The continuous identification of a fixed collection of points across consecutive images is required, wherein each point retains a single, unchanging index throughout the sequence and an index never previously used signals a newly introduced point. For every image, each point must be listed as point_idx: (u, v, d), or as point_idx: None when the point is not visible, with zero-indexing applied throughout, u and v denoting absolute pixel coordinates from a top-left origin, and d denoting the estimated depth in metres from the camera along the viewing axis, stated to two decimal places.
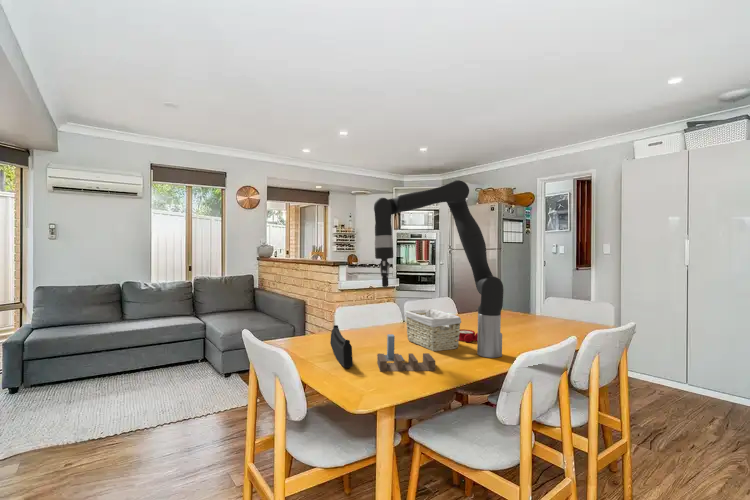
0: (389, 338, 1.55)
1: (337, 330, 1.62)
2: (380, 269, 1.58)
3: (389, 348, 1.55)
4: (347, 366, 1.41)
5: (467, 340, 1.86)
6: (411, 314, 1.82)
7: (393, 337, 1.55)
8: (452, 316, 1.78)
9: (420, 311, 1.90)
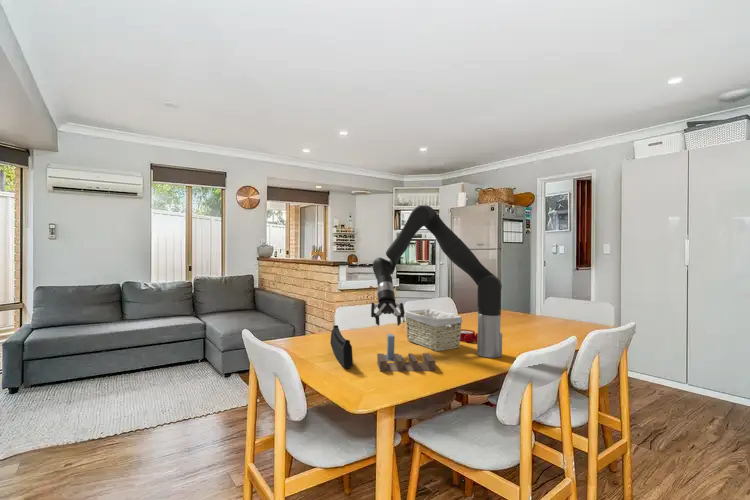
0: (389, 338, 1.55)
1: (337, 330, 1.62)
2: None
3: (389, 348, 1.55)
4: (347, 366, 1.41)
5: (467, 340, 1.86)
6: (412, 314, 1.81)
7: (393, 337, 1.55)
8: (453, 316, 1.79)
9: (419, 311, 1.90)
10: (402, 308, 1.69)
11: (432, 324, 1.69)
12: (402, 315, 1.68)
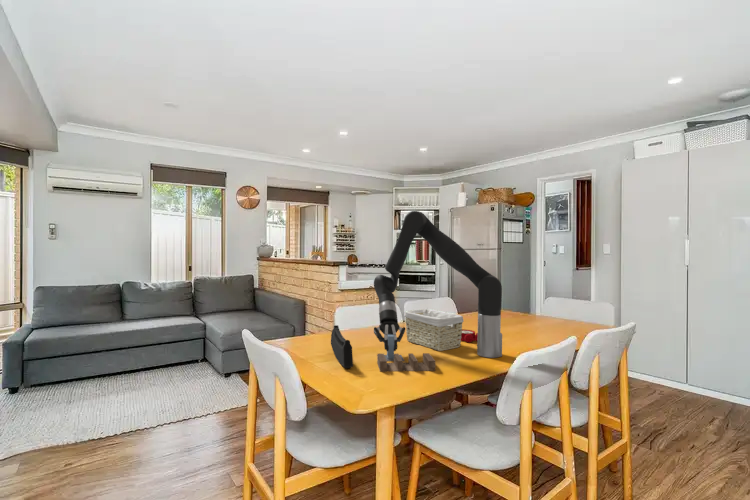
0: (389, 338, 1.55)
1: (337, 330, 1.62)
2: None
3: (389, 348, 1.55)
4: (347, 366, 1.41)
5: (467, 340, 1.86)
6: (412, 314, 1.81)
7: (393, 337, 1.55)
8: (453, 315, 1.80)
9: (418, 311, 1.90)
10: (402, 332, 1.59)
11: (435, 324, 1.69)
12: None
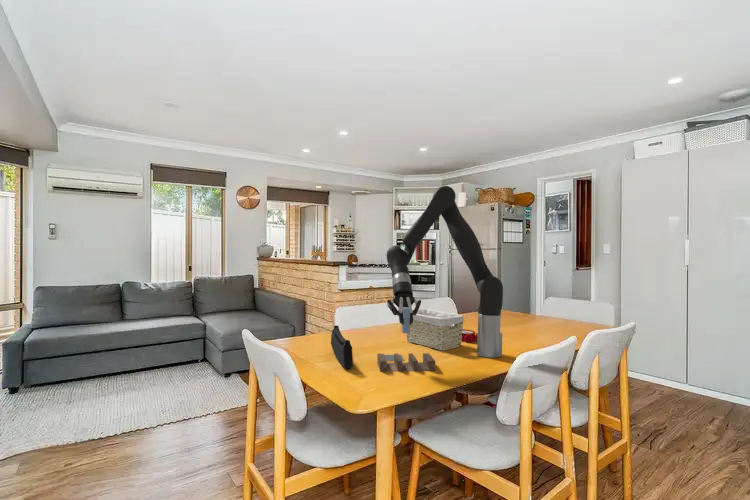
0: (404, 311, 1.44)
1: (337, 330, 1.62)
2: None
3: (404, 321, 1.44)
4: (347, 366, 1.41)
5: (467, 340, 1.86)
6: (413, 315, 1.80)
7: (408, 309, 1.44)
8: (453, 315, 1.81)
9: None
10: (417, 305, 1.48)
11: (438, 324, 1.70)
12: None
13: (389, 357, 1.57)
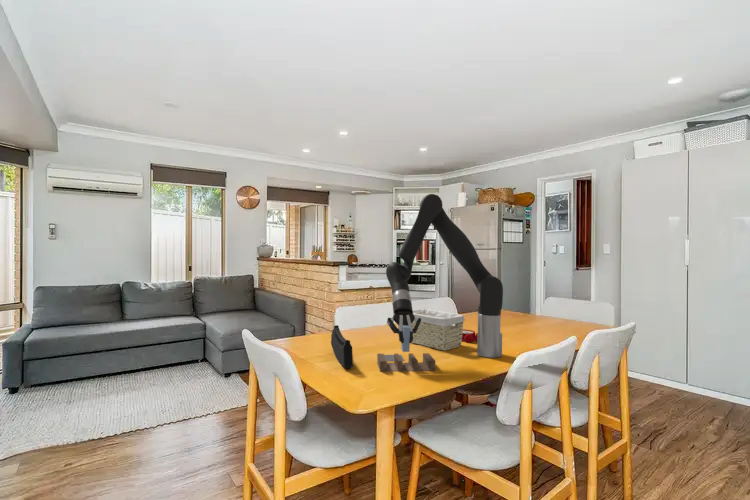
0: (404, 329, 1.43)
1: (338, 330, 1.62)
2: (398, 327, 1.49)
3: (404, 340, 1.43)
4: (347, 366, 1.40)
5: (467, 340, 1.86)
6: (414, 315, 1.80)
7: (408, 328, 1.43)
8: (453, 315, 1.82)
9: (417, 311, 1.89)
10: (417, 323, 1.48)
11: (440, 324, 1.70)
12: None
13: (389, 357, 1.57)
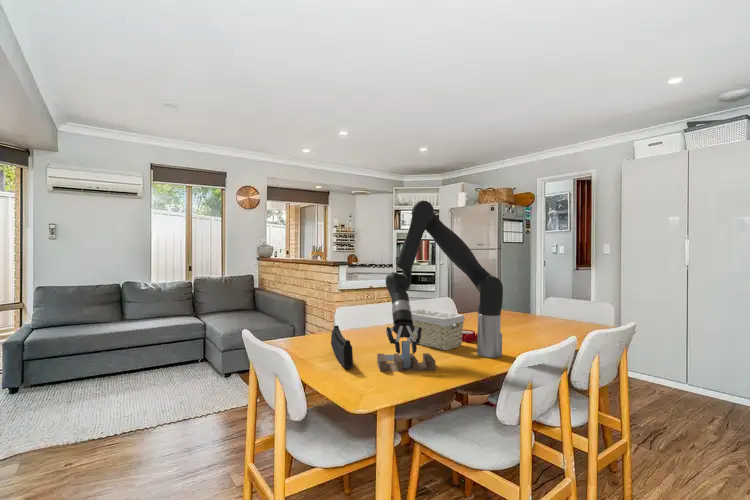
0: (404, 345, 1.44)
1: (338, 330, 1.62)
2: None
3: (404, 356, 1.44)
4: (347, 366, 1.40)
5: (467, 340, 1.86)
6: (414, 315, 1.80)
7: (408, 344, 1.44)
8: (453, 314, 1.83)
9: (417, 311, 1.89)
10: (419, 333, 1.48)
11: (441, 324, 1.70)
12: None
13: (389, 357, 1.57)
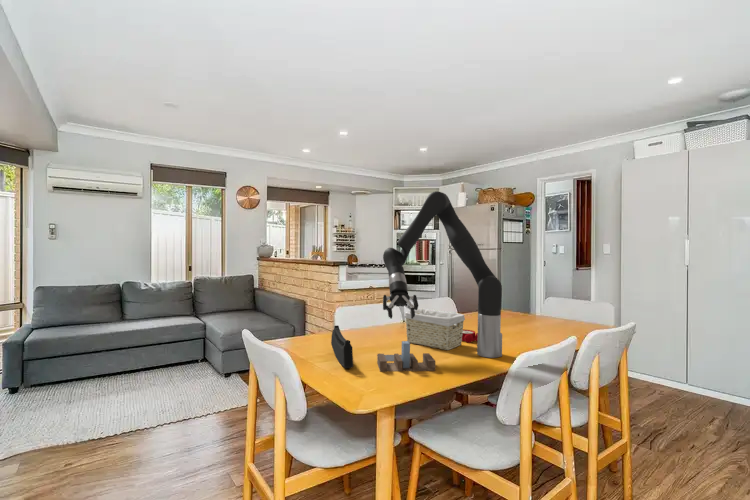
0: (404, 345, 1.43)
1: (338, 330, 1.62)
2: None
3: (404, 356, 1.44)
4: (347, 367, 1.40)
5: (467, 340, 1.86)
6: (415, 315, 1.79)
7: (408, 344, 1.44)
8: (453, 314, 1.84)
9: (416, 311, 1.89)
10: (416, 300, 1.61)
11: (444, 324, 1.70)
12: (416, 307, 1.59)
13: (389, 357, 1.57)
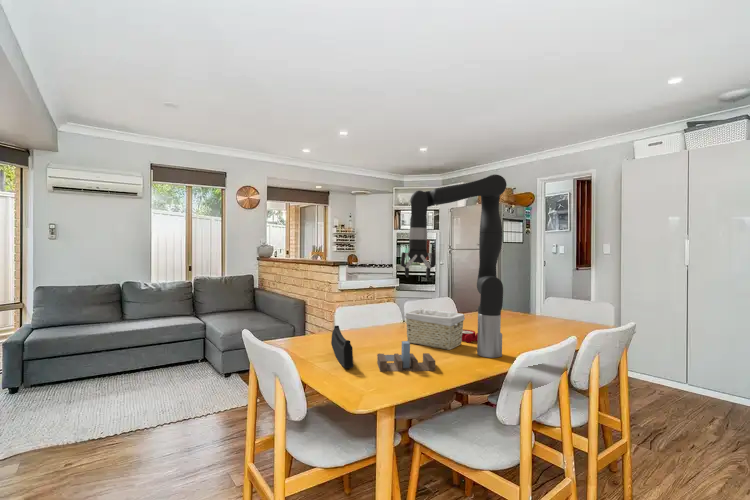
0: (404, 345, 1.43)
1: (338, 330, 1.62)
2: None
3: (404, 356, 1.44)
4: (347, 367, 1.40)
5: (467, 340, 1.86)
6: (416, 315, 1.79)
7: (408, 344, 1.44)
8: (453, 314, 1.85)
9: (415, 312, 1.89)
10: (433, 259, 1.65)
11: (446, 323, 1.71)
12: None
13: (389, 357, 1.57)
